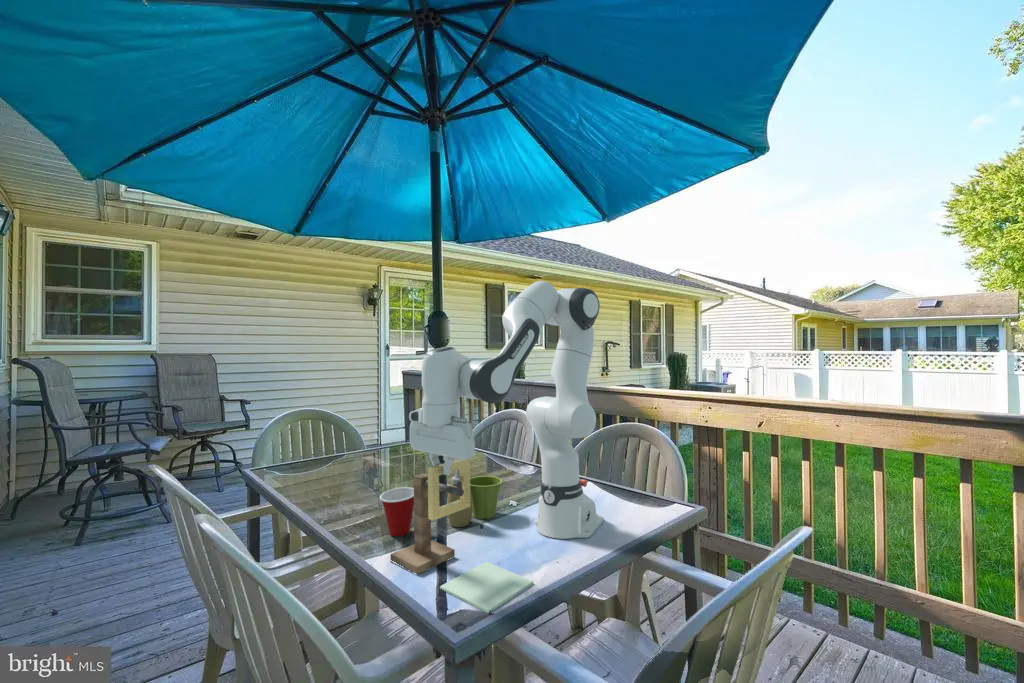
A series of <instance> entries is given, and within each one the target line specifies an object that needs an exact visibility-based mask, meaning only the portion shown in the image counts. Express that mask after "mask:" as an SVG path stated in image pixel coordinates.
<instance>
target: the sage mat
mask: <svg viewBox="0 0 1024 683" xmlns="http://www.w3.org/2000/svg"><path fill="white" fill-rule="evenodd" d="M532 585H534V580H532V579H530V578H527V577H524V576H523V575H520V574H517V573H514V572H512V571H511V570H508V569H505V568H502V567H500V566H498V565H496V564H493V563H491V562H488V561H485V562H483V563H480V565H477V566H476V567H473V568H472V569H470V570H468V571H466V572H465V573H463V574H460V575H459V576H456V577H455V578H453V579H451V580H449V581H448V582H445V583H444V584H442V585H440V586H439V589H440V590H441V589H442V590H441V591H443V590H444V591H443V592H445V591H446V592H445V593H447V592H448V593H447V594H449V593H450V594H449V595H451V594H452V595H451V596H453V595H454V596H453V597H455V596H456V597H455V598H457V597H458V598H457V599H459V598H460V599H459V600H461V599H462V600H464V601H466V602H467V603H466V602H465V603H466V604H468V603H470V604H471V605H470V604H469V605H470V606H472V605H473V606H472V607H475V608H476V609H478V610H480V611H482V612H484V613H486V614H490V613H491V612H493V611H495V610H496V609H498V608H499V607H500V606H502V605H504V604H505V603H506V602H508V601H510V600H511V599H513V598H514V597H515V596H517V595H519V594H521V593H522V592H523V591H525V590H526V589H527V588H529V587H530V586H532ZM524 589H525V590H524ZM521 591H522V592H521ZM518 593H519V594H518ZM462 600H461V601H462ZM464 601H463V602H464ZM492 610H493V611H492ZM490 611H491V612H490ZM489 612H490V613H489Z"/></svg>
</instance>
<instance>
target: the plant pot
mask: <svg viewBox="0 0 1024 683" xmlns="http://www.w3.org/2000/svg"><path fill="white" fill-rule="evenodd" d="M502 483H503V479H502V478H500V477H498V476H491V475H481V476H480V475H479V476H473V477H470V492H471V501H472V510H473V512H472V515H473V517H474V518H475V519H479V520H483V519H491V518H493V517H495V516H496V511H497V505H498V499H499V492H500V489H501V484H502Z"/></svg>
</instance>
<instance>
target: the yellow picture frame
mask: <svg viewBox="0 0 1024 683" xmlns="http://www.w3.org/2000/svg"><path fill="white" fill-rule="evenodd" d="M470 461H471V460H470V459H467V460H459V459H454V461H453V463H452V465H451V473H452V472H456V470H460V482H462V489H463V490H464V494H463V496H460V500H457V501H454V502H451V503H448V504H447V503H446V504H444V505H441V506H440V490H439V483H440V476H442V475H443V474H441V467H442V466H444V463H445V462H444V463H440V465H436V466H433V465H432V466H429V467H427V475H428V519H429V520H431V522H434V521H436V520H438V519H441V518H444V517H446V516H447V515H450V514H452V513H455V512H457V511H460V510H463V509H465V508H468V507H470V478H471V468H470V467H471V462H470ZM447 517H448V516H447Z"/></svg>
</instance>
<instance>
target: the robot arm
mask: <svg viewBox="0 0 1024 683" xmlns="http://www.w3.org/2000/svg"><path fill="white" fill-rule="evenodd" d="M600 305H601V304H600V299H599V298H598V295H597V294H596V292H595V291H593V290H592V289H591V288H587V287H586V288H585V287H576V288H573V287H572V288H561V289H556V287H555V286H554V285H552V284H551V283H550V282H548V281H545V280H538V281H534V282H533V283H531V284H530V285H529V286H527V287H526V288H525V289H523V290H522V291H520V293H519V294H518V295H517V296H516V297H515V298H514V299H512V301H511V303H509V305H508V306H507V307H506V309H505V311H504V312H503V314H502V316H501V317H502V319H501V320H502V326H503V328H504V330H505V332H506V333H507V335H508V336H509V339H508V340H507V342H506V343H505V344H504V346H503V347H502V349H501V350H500V351H499V353H498V354H497V355H496V356H494V357H492V358H489V359H485V360H477V359H472V358H469V357H467V356H465V355H464V354H461V352H459V351H458V350H457V349H456V348H455V347H453V346H444V347H438V348H437V347H436V348H433V349H429V350H428V351H426V352H425V354H424V356H423V359H422V366H421V388H422V391H423V393H422V401H421V407H420V408H418V409H416V410H412V411H410V412H409V413H408V414H409V415H408V419H409V421H410V424H409V444H410V447H411V449H412V450H414V451H420V452H423V453H428V454H429V455H428V457H429V460H430V462H431V464H432V466H436V465H440V464H441V462H440V458H439V457H440V456H441V457H443V458H442V460H443V461H444V466H442V467H441V474H442V475H444V476H448V475H450V474H451V473H452V472H451V465H452V463H453V461H455V460H458V459H459V460H467V459H471V460H472V459H473V458H474V456H475V455H476V443H475V435H474V431H473V426H472V423H471V422H470V421H469V420H468V418H467V417H460V398H466V399H470V400H478V401H482V402H485V403H488V404H497V403H500V402H503V401H504V400H505V399H506V398H507V397H508V396H509V394H510V392H511V390H512V388H513V384H514V382H515V380H516V376H517V374H518V373H519V371H520V369H522V368H521V367H522V366H523V365H524V363H525V361H526V360H527V358H528V356H529V355H530V354H531V352H532V350H533V349H534V347H535V345H536V344H537V341H538V339H539V337H540V334H541V333H540V332H541V330H542V329H543V327H544V326H550V327H551V326H558V327H559V328H560V330H559V331H560V335H559V339H558V341H557V345H556V348H555V352H554V356H553V360H552V366H551V370H550V377H551V379H552V380H553V382H554V383H555V384H554V385H555V391H556V392H555V396H540V397H537V398H534V399H532V400H531V401H530V402H528V405H527V407H526V411H525V416H526V421H527V422H528V424H529V425H530V426H531V428H532V429H533V432H534V435H535V438H536V440H537V444H538V447H539V453H540V462H541V480H540V485H539V487H540V495H539V499H538V511H537V517H536V518H535V521H534V522H535V524H536V525H537V526H536V528H537V531H538V532H539V533H540V534H541V535H543V536H545V537H548V538H554V539H562V540H564V539H565V540H566V539H567V540H569V539H575V538H579V539H580V538H582V539H583V538H585V539H587V538H590V537H591V536H592V535H593V534H594V533H595V532H596V530H597V529H599V527H601V525H602V524H603V523H604V521H605V517H603V516H602V515H600V514H598V513H597V509H596V503H595V501H594V500H593V499H592V498H591V497H589V496H588V495H587V494H586V493H584V490H583V487H584V488H587V485H588V481H587V480H586V479H582V478H581V479H580V463H579V462H580V458H579V454H578V452H577V451H576V450H575V449H574V446H573V445H572V443H571V441H570V439H580V438H581V439H582V438H586V437H588V436H590V435H591V434H592V433H593V431H594V429H595V427H596V424H597V416H596V412H595V410H594V408H593V407H592V405H591V403H590V402H589V397H588V391H587V390H588V388H587V385H588V384H587V382H588V376H589V372H590V371H589V370H590V366H591V365H590V364H591V362H592V356H593V350H594V342H595V340H594V339H595V330H594V324H595V322H596V320H597V318H598V316H599V312H600Z"/></svg>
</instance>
